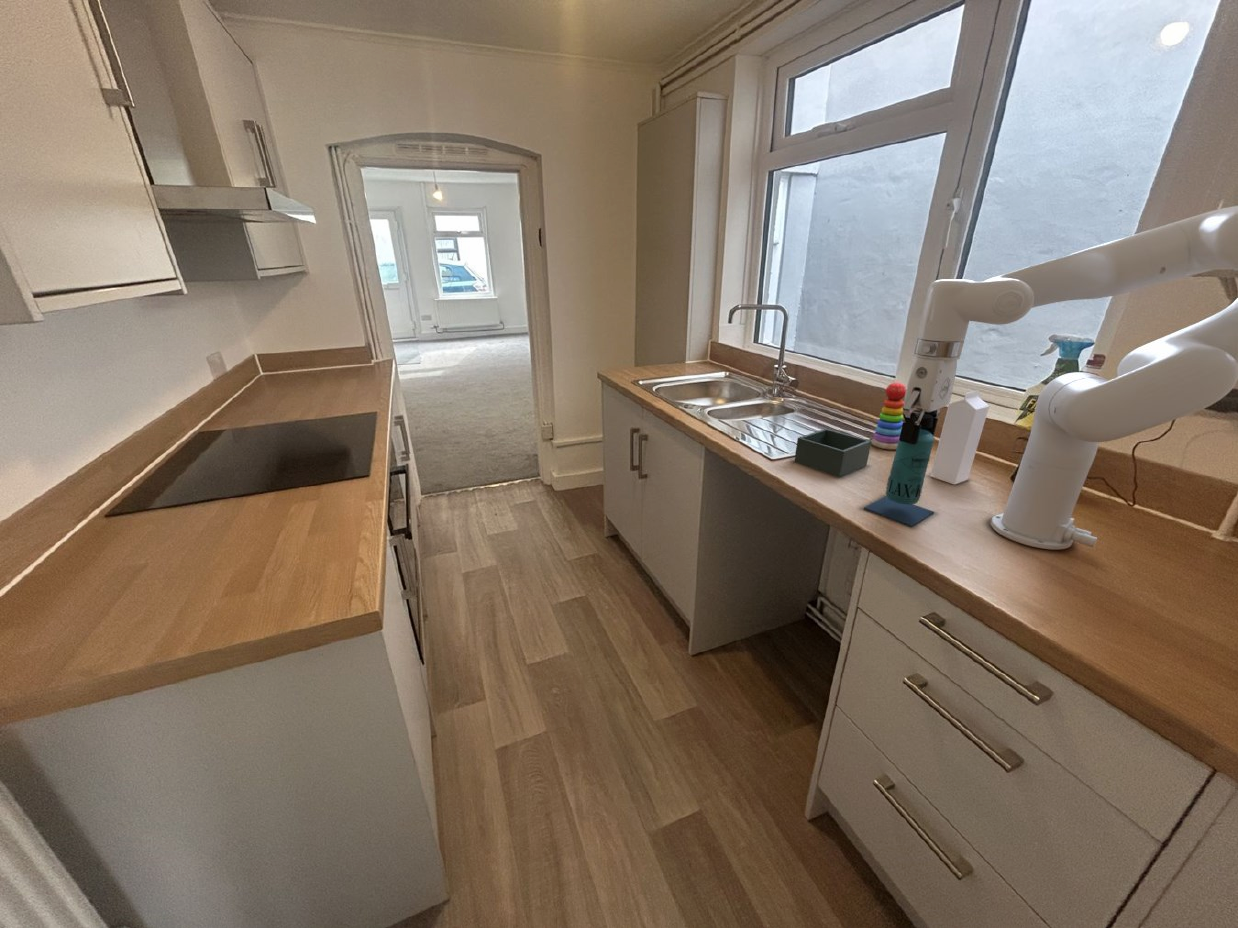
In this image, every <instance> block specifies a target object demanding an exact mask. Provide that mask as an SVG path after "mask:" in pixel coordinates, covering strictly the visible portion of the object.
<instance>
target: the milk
mask: <svg viewBox="0 0 1238 928" xmlns="http://www.w3.org/2000/svg"><path fill="white" fill-rule="evenodd" d="M979 394H980V390H979V389H976V390H973V391H969V392H965V394H964V397H963V399H961V400H960V399H959V400H957V401H953V402H950V403H949V404H948V405H947V409H946V414H945V417H944V421H943V425H942V429H941V433H940V436H939V439H938V440H939V441H938V444H937V448H936V452H935V455H934V459H933V463H932V467H931V470H930V474H929V477H931V478H934V479H937V480H939V481H943V482H946V483H948V484H951V485H957V484H961V483H963V482H965V481H968V479H969V478H970V473H971V470H972V467H973V464H974V460H975V456H976V453H977V450H978V447H979V444H980V441H981V440H980V439H981V436H982V433H983V430H984V426H985V423H986V419H987V417H988V413H989V409H990V405H989V404H988V403H987V402H985V400H983V399H982V398H981V397H980V396H979Z"/></svg>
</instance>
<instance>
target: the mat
mask: <svg viewBox="0 0 1238 928" xmlns="http://www.w3.org/2000/svg"><path fill="white" fill-rule="evenodd" d="M863 509H864V510H865V511H868V512H871V513H873V514H876V515H879V516H881V517H883V518H886V519H888V520H891V521H894V522H897V523H899V524H902V525H904V526H907V527H910V528H913V527H915V526H916V525H918V524H919V523H921V522H922V521H924V520H926V519H927V518H928V517H930V516H932V515H933V514H935V511H934V510H930V509H927V508H924V507H921V506H919V505H916V504H900V503H896V502H893V501H891V500H889V499H888V498H887V497H886V495H885V496H883V497H881V498H879V499H877V500H875V501H873V502H872V503H870V504H868V505H866V506H864V508H863Z"/></svg>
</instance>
